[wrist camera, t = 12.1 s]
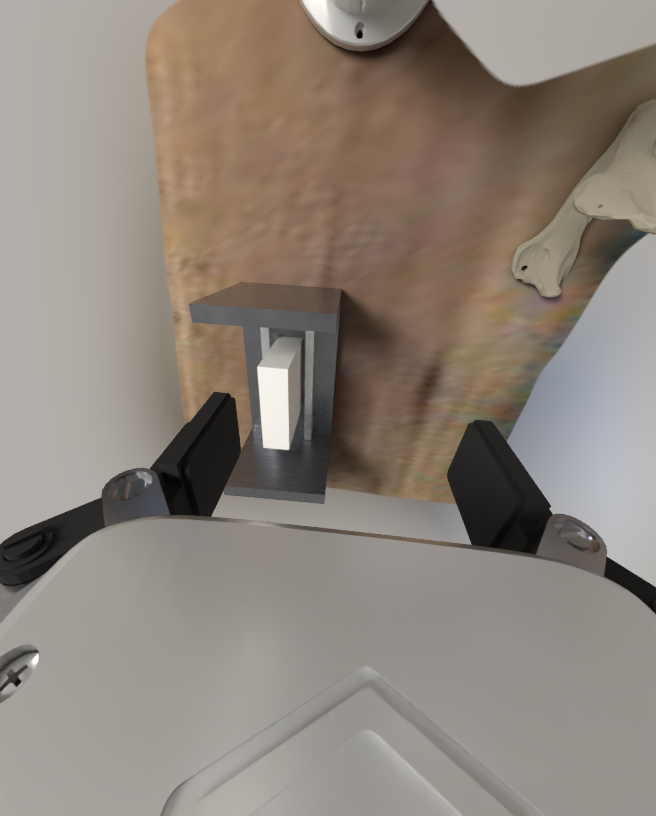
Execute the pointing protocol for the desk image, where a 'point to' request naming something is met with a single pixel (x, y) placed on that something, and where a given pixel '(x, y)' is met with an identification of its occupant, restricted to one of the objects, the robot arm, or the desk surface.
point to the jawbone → (597, 203)
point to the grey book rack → (318, 326)
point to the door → (280, 391)
